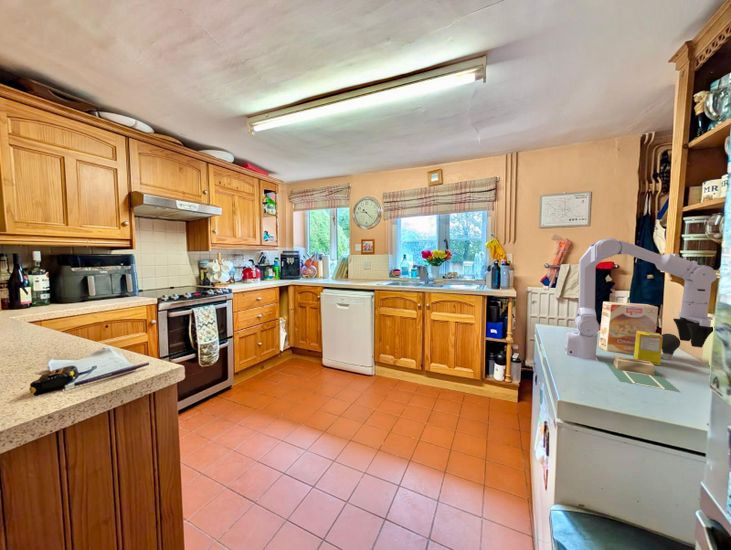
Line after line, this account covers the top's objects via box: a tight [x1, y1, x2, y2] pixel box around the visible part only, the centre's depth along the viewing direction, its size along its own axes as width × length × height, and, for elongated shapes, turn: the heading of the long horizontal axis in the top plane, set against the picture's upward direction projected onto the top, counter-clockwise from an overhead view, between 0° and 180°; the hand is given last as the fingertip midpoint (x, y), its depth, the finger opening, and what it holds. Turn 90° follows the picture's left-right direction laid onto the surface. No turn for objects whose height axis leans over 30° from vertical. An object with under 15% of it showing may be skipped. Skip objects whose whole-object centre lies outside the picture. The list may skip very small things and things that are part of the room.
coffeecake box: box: [598, 301, 659, 356], centre depth 114 cm, size 15×7×20 cm, turn 73°
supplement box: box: [633, 331, 663, 367], centre depth 103 cm, size 6×6×11 cm
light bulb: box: [660, 333, 681, 361], centre depth 106 cm, size 6×6×10 cm
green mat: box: [604, 361, 681, 393], centre depth 91 cm, size 13×18×1 cm
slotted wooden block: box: [613, 355, 656, 375], centre depth 95 cm, size 9×4×3 cm, turn 62°
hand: (690, 343), depth 94 cm, fingers open, 7 cm apart
